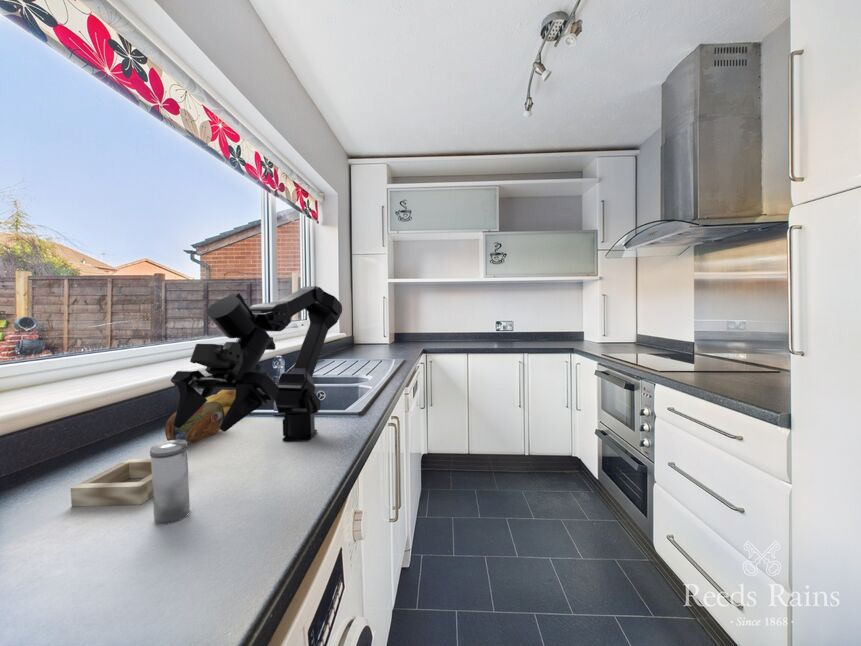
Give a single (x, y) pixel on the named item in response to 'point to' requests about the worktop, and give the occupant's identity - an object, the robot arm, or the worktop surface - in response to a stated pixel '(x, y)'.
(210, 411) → the tin
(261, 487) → the worktop surface
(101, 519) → the worktop surface
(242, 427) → the worktop surface
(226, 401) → the bread roll
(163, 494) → the silver metal canister
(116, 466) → the collar
